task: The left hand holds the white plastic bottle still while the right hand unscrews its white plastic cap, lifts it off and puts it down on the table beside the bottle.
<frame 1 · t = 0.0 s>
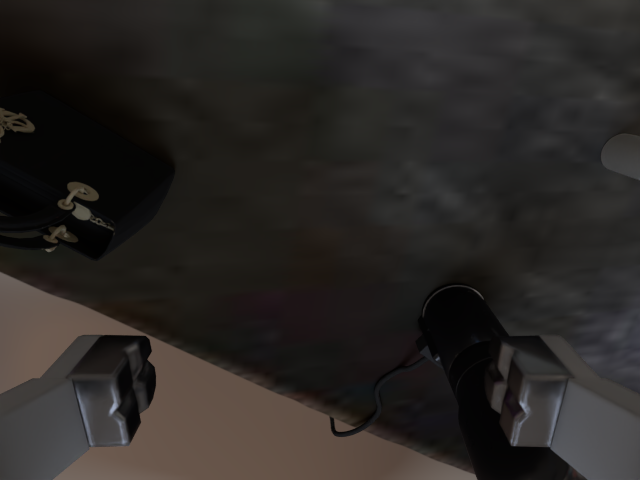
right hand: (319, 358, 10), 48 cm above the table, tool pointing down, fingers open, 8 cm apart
handbag: (98, 158, 57), on the table
bottle: (619, 152, 56), on the table
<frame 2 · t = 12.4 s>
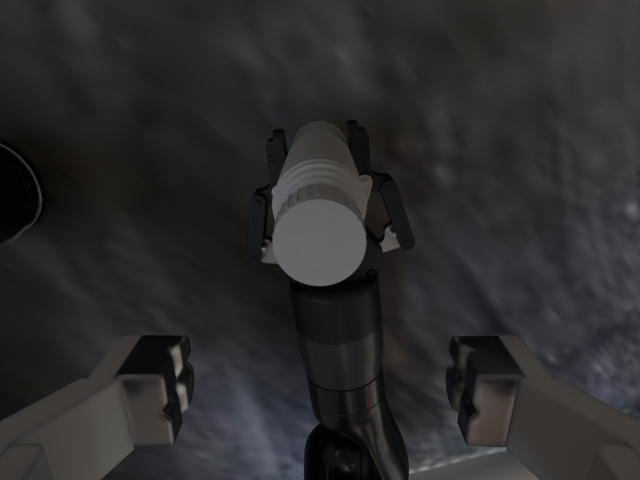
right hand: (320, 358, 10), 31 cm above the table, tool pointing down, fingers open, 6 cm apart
left hand: (314, 127, 32), fingers closed on bottle, 5 cm apart
cap: (319, 241, 18), point 23 cm above the table, screwed on, not yet turned
bottle: (319, 148, 39), on the table, touching left hand
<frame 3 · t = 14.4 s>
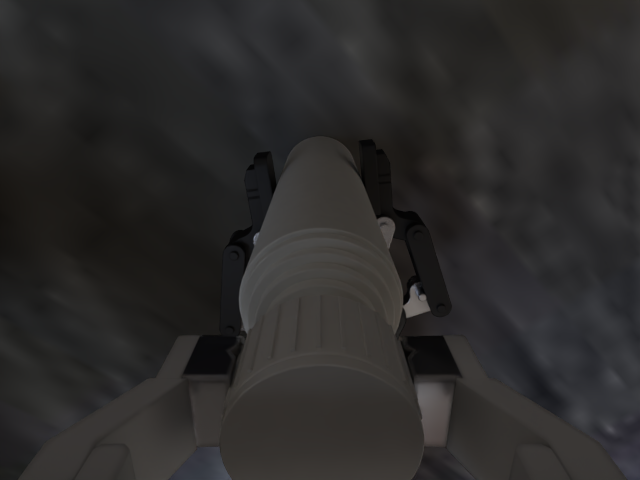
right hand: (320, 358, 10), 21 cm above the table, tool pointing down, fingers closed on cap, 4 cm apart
cap: (321, 436, 8), point 23 cm above the table, screwed on, not yet turned, touching right hand
bottle: (320, 172, 30), on the table, touching left hand
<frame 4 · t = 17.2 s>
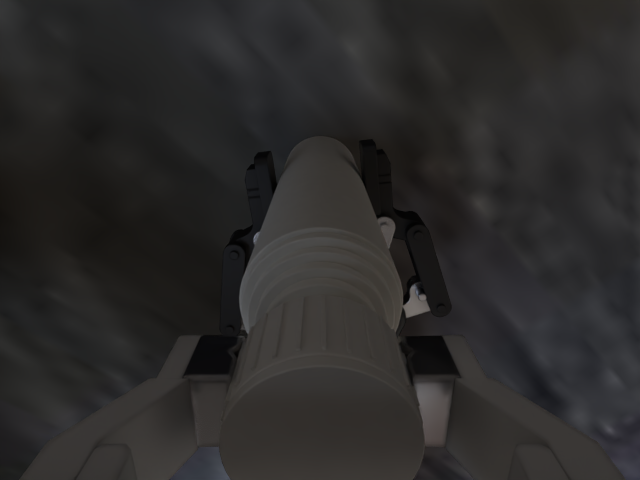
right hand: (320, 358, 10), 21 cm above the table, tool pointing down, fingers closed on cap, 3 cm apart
cap: (321, 437, 8), point 23 cm above the table, turned 66° so far, risen 0.1 cm, still on its thread, touching right hand
bottle: (320, 171, 30), on the table, touching left hand
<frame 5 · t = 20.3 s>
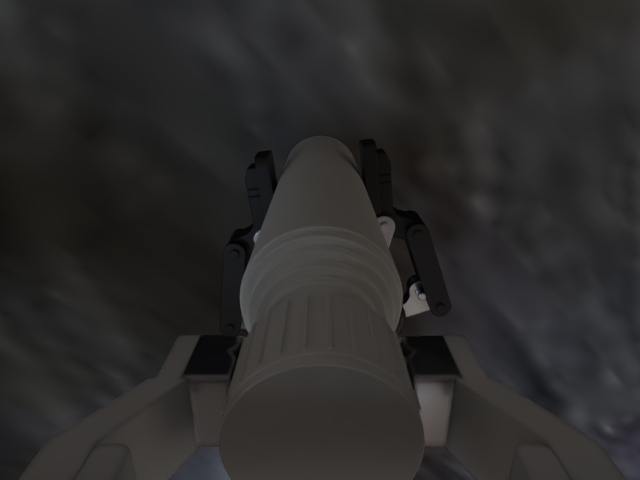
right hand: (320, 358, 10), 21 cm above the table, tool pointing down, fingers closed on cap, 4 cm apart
cap: (321, 436, 8), point 23 cm above the table, turned 133° so far, risen 0.1 cm, still on its thread, touching right hand
bottle: (320, 171, 30), on the table, touching left hand
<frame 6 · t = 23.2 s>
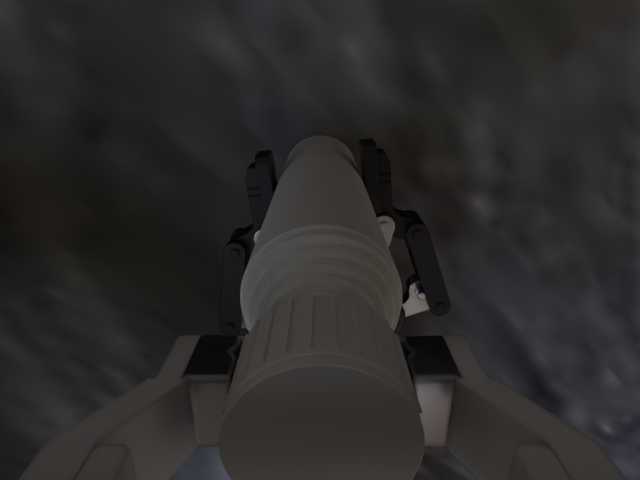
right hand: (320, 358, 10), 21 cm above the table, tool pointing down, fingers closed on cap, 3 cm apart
cap: (321, 436, 8), point 23 cm above the table, turned 199° so far, risen 0.2 cm, still on its thread, touching right hand
bottle: (320, 171, 30), on the table, touching left hand
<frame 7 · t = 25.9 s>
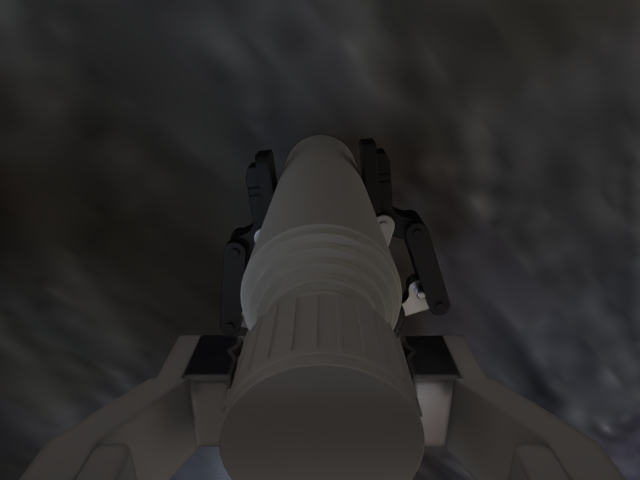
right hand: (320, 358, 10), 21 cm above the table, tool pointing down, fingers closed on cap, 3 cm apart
cap: (321, 436, 8), point 23 cm above the table, turned 265° so far, risen 0.3 cm, still on its thread, touching right hand
bottle: (320, 170, 30), on the table, touching left hand
when the right hand's fingers open (2 cm above the table, at t = 37.0 s): cap drops 2 cm, point 2 cm above the table.
when the left hand's fingers open (6 cm above the table, at t = 38.2 s): bottle stays where it is, on the table.
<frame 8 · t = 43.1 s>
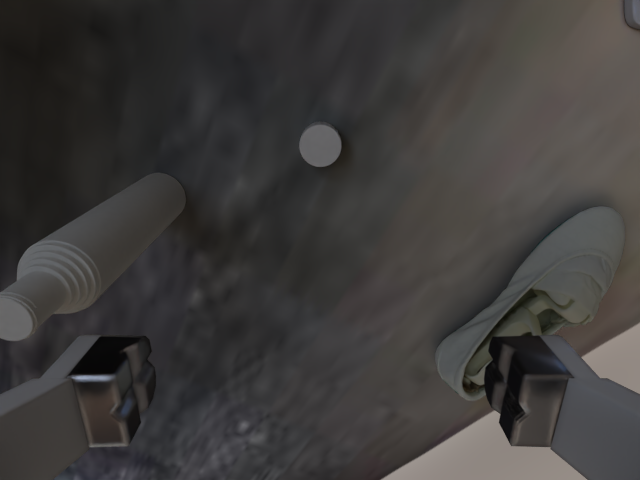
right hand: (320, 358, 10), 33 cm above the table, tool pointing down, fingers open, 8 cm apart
cap: (320, 145, 39), point 2 cm above the table, off its thread
bottle: (161, 196, 43), on the table
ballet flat: (520, 294, 47), on the table
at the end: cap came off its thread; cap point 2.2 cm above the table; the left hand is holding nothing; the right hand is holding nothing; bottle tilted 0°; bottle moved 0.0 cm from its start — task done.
